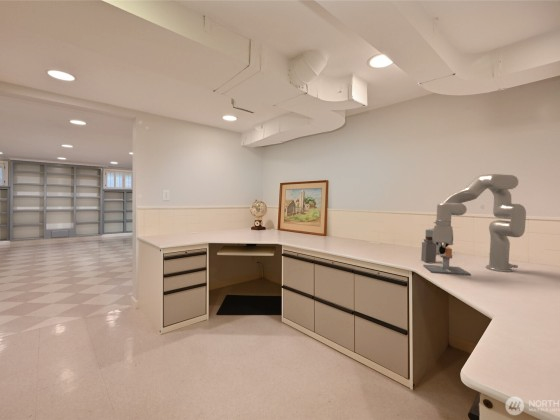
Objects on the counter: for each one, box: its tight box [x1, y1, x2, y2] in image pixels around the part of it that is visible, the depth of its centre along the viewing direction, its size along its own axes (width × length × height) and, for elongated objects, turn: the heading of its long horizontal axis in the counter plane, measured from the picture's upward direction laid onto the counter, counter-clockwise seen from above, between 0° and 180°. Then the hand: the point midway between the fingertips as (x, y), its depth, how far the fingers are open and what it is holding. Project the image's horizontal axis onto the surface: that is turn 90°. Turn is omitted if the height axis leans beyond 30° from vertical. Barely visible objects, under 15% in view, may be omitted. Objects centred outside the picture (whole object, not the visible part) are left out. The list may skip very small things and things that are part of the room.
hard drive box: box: [424, 227, 440, 255], centre depth 214 cm, size 16×8×20 cm, turn 130°
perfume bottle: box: [420, 236, 437, 264], centre depth 184 cm, size 7×7×18 cm
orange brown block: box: [439, 244, 453, 259], centre depth 161 cm, size 16×6×7 cm, turn 158°
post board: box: [422, 258, 472, 276], centre depth 162 cm, size 21×16×8 cm
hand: (442, 253), depth 156 cm, fingers closed
